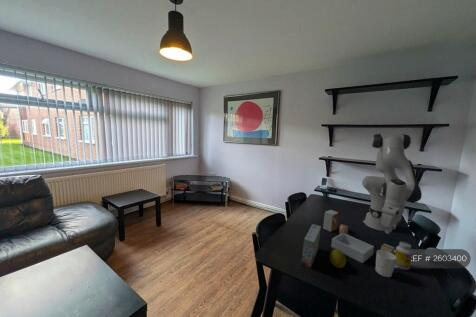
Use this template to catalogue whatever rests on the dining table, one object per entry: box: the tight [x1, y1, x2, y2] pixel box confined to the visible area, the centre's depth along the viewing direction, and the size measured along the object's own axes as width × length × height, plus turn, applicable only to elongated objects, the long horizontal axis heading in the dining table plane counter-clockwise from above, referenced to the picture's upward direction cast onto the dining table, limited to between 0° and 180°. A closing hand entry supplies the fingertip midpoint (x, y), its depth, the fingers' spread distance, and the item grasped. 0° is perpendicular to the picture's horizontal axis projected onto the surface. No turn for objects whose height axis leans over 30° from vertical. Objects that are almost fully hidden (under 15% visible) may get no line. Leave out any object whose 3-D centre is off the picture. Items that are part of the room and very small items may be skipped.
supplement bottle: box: [394, 241, 413, 271], centre depth 103 cm, size 7×7×13 cm
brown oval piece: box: [338, 223, 349, 235], centre depth 133 cm, size 5×5×7 cm
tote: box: [330, 233, 375, 264], centre depth 115 cm, size 18×14×6 cm
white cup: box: [374, 249, 396, 278], centre depth 97 cm, size 8×8×10 cm
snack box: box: [301, 223, 322, 269], centre depth 108 cm, size 21×6×15 cm, turn 148°
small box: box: [322, 209, 339, 233], centre depth 141 cm, size 8×6×13 cm
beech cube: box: [380, 243, 395, 255], centre depth 113 cm, size 5×5×5 cm
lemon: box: [329, 249, 347, 269], centre depth 102 cm, size 11×8×8 cm
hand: (390, 230), depth 111 cm, fingers open, 8 cm apart
